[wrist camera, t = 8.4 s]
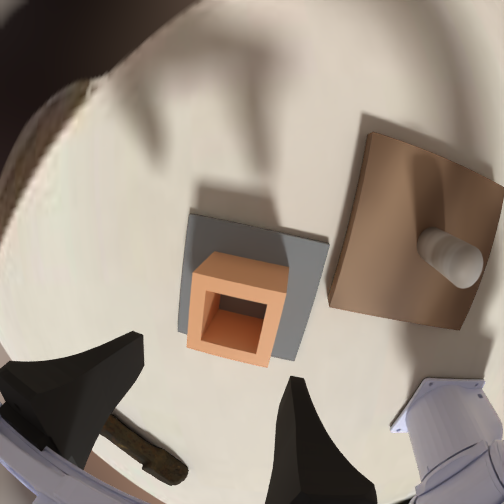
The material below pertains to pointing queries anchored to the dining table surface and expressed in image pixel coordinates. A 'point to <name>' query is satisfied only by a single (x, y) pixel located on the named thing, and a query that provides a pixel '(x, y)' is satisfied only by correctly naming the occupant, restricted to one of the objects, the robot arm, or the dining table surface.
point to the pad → (262, 249)
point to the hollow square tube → (229, 323)
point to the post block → (415, 236)
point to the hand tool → (145, 453)
